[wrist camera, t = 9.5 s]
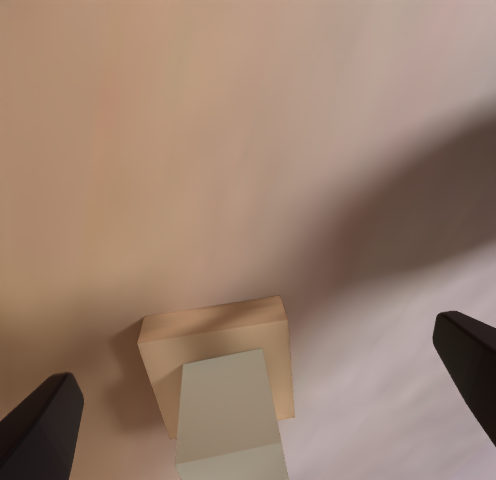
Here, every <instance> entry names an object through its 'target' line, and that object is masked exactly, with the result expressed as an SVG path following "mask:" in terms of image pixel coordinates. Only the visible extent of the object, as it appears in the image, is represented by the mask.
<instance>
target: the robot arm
mask: <svg viewBox="0 0 496 480" xmlns="http://www.w3.org/2000/svg"><path fill="white" fill-rule="evenodd" d="M433 344H434V347H435V349H436V351H437V352H438V354H439V356H440V358H441V360H442V361H443V363H444V365H445V367H446V369H447V370H448V372H449V374H450V376H451V378H452V379H453V381H454V383H455V385H456V387H457V388H458V390H459V392H460V394H461V395H462V397H463V399H464V401H465V402H466V404H467V405H468V407H469V408H470V410H471V412H472V413H473V415H474V416H475V417H476V419H477V420H478V422H479V423H480V425H481V426H482V428H483V429H484V431H485V432H486V433H487V435H488V436H489V438H490V439H491V441H492V442H493V444H494V445H495V447H496V328H494V327H492V326H490V325H487V324H485V323H483V322H481V321H478V320H476V319H474V318H471V317H469V316H467V315H465V314H462V313H460V312H458V311H447V312H441V313H439V314H438V315H437V317H436V321H435V327H434V332H433ZM83 405H84V398H83V394H82V392H81V390H80V388H79V386H78V383H77V381H76V379H75V377H74V375H73V374H72V373H70V372H64V373H58V374H53V375H51V376H50V377H49V378H47V379H46V380H45V381H44V382H43V383H42V384H41V385H40V386H39V387H38V388H36V389H35V390H34V391H33V392H32V393H31V394H30V395H29V396H28V397H27V398H25V399H24V400H23V401H22V402H21V403H20V404H19V405H18V406H17V407H16V408H14V409H13V410H12V411H11V412H10V413H9V414H8V415H7V416H6V417H5V418H3V419H2V420H1V421H0V480H69V477H70V473H71V468H72V463H73V458H74V453H75V448H76V442H77V437H78V432H79V426H80V421H81V416H82V410H83Z"/></svg>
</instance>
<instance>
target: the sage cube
mask: <svg viewBox="0 0 496 480" xmlns="http://www.w3.org/2000/svg"><path fill="white" fill-rule="evenodd" d="M175 467H176V469H177V471H178V473H179V475H180V478H181V480H289V478H288V473H287V468H286V463H285V458H284V453H283V448H282V442H281V438H280V433H279V428H278V423H277V418H276V413H275V408H274V403H273V398H272V393H271V388H270V383H269V378H268V373H267V368H266V363H265V358H264V354H263V349H262V348H260V349H255V350H250V351H245V352H241V353H236V354H231V355H226V356H221V357H216V358H212V359H207V360H202V361H197V362H192V363H187V364H183V372H182V384H181V396H180V408H179V420H178V432H177V444H176V456H175Z"/></svg>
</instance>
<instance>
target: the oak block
mask: <svg viewBox="0 0 496 480" xmlns="http://www.w3.org/2000/svg"><path fill="white" fill-rule="evenodd" d="M137 345H138V348H139V351H140V353H141V356H142V359H143V362H144V365H145V368H146V371H147V374H148V377H149V380H150V383H151V386H152V389H153V391H154V394H155V397H156V400H157V403H158V406H159V409H160V412H161V415H162V418H163V421H164V424H165V427H166V429H167V432H168V435H169V438H170V439H173V438H177V432H178V420H179V408H180V396H181V384H182V372H183V364H187V363H192V362H197V361H202V360H207V359H212V358H216V357H221V356H226V355H231V354H236V353H241V352H245V351H250V350H255V349H260V348H262V349H263V354H264V358H265V363H266V368H267V373H268V378H269V383H270V388H271V393H272V398H273V403H274V408H275V413H276V418H277V421H278V420H283V419H289V418H295V414H294V400H293V386H292V372H291V358H290V344H289V330H288V319H287V316H286V313H285V310H284V307H283V304H282V301H281V298H280V295H279V296H273V297H267V298H260V299H254V300H248V301H241V302H235V303H229V304H222V305H216V306H210V307H203V308H197V309H190V310H184V311H178V312H171V313H165V314H159V315H152V316H146V317H144V320H143V323H142V327H141V331H140V335H139V338H138V342H137Z"/></svg>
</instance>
